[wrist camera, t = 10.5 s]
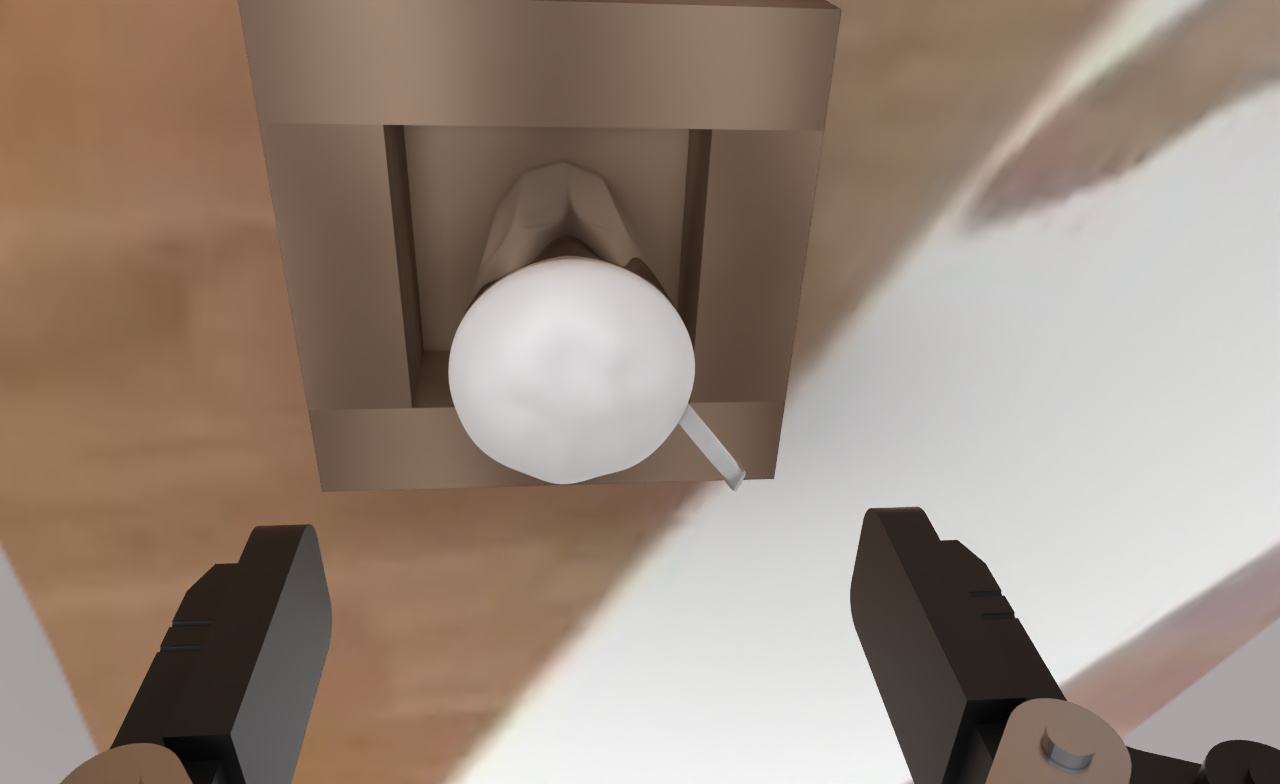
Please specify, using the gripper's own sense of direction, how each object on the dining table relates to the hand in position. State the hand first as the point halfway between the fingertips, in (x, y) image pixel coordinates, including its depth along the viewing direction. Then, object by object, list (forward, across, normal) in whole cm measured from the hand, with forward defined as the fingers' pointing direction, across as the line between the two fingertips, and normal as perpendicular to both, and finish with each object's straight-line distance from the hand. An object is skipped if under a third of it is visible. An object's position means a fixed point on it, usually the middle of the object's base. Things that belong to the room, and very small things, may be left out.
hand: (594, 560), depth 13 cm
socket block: (+14, +1, 0) cm, 14 cm away
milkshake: (+13, 0, 0) cm, 13 cm away
